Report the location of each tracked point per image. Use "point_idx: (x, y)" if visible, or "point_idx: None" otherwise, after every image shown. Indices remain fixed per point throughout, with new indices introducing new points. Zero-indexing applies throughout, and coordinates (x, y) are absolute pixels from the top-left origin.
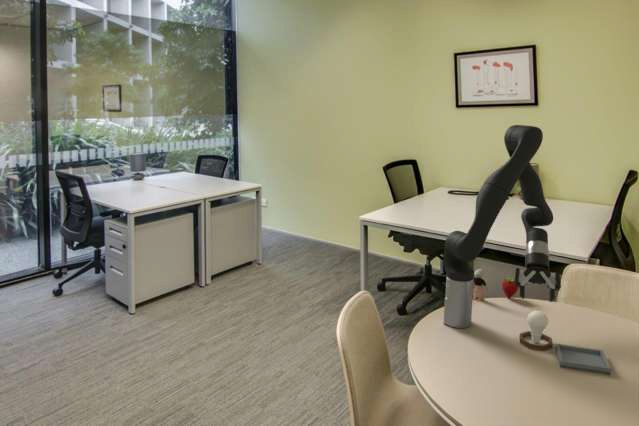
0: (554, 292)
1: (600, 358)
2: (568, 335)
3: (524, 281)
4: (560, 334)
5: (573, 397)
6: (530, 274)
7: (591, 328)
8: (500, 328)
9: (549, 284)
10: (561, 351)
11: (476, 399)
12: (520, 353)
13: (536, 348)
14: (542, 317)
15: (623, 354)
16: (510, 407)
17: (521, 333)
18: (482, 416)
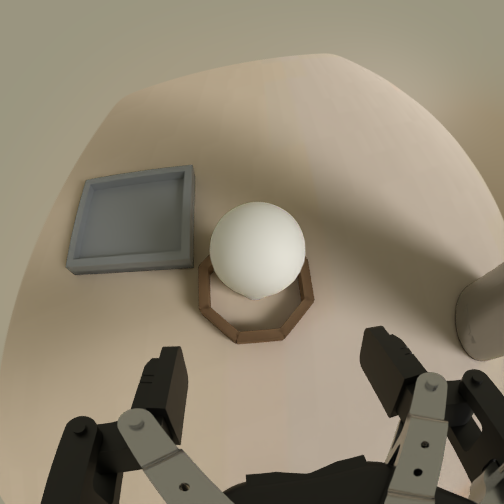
0: (136, 395)
1: (84, 242)
2: None
3: (431, 412)
4: None
5: (189, 103)
6: (422, 491)
7: None
8: None
9: (164, 449)
10: (177, 241)
11: (331, 73)
12: (294, 205)
13: None
14: (238, 206)
15: (29, 304)
16: (285, 69)
17: (308, 304)
18: (313, 57)
